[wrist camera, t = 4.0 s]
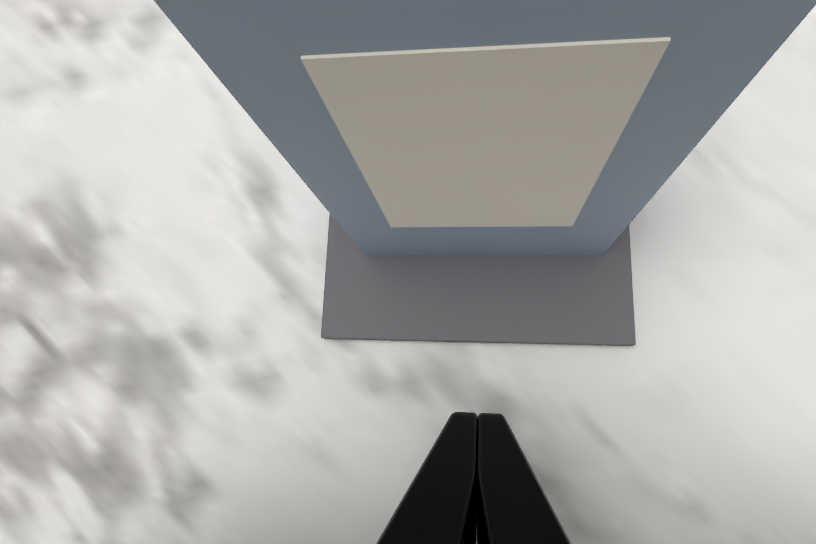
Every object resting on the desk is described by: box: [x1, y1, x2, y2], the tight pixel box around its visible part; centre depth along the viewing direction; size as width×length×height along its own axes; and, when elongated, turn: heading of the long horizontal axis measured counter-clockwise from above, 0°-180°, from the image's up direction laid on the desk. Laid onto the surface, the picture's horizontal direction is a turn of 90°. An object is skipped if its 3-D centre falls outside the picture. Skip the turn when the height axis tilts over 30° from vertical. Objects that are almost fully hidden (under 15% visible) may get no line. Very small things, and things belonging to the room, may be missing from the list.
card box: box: [154, 0, 816, 256], centre depth 11 cm, size 3×7×12 cm, turn 88°
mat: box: [321, 214, 636, 346], centre depth 18 cm, size 16×9×1 cm, turn 178°
